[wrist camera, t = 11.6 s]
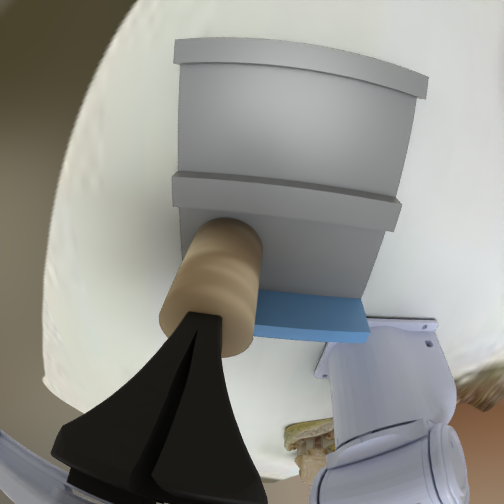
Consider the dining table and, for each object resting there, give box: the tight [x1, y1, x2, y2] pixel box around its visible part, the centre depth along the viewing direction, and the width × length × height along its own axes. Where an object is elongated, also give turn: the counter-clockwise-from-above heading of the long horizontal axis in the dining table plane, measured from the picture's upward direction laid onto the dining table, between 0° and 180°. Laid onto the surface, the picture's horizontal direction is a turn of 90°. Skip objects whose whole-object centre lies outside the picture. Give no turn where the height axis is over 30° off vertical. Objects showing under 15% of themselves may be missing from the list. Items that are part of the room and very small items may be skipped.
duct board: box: [172, 38, 429, 343], centre depth 13 cm, size 12×15×4 cm
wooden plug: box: [159, 218, 263, 358], centre depth 14 cm, size 4×4×6 cm
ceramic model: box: [284, 418, 335, 486], centre depth 29 cm, size 14×11×10 cm
